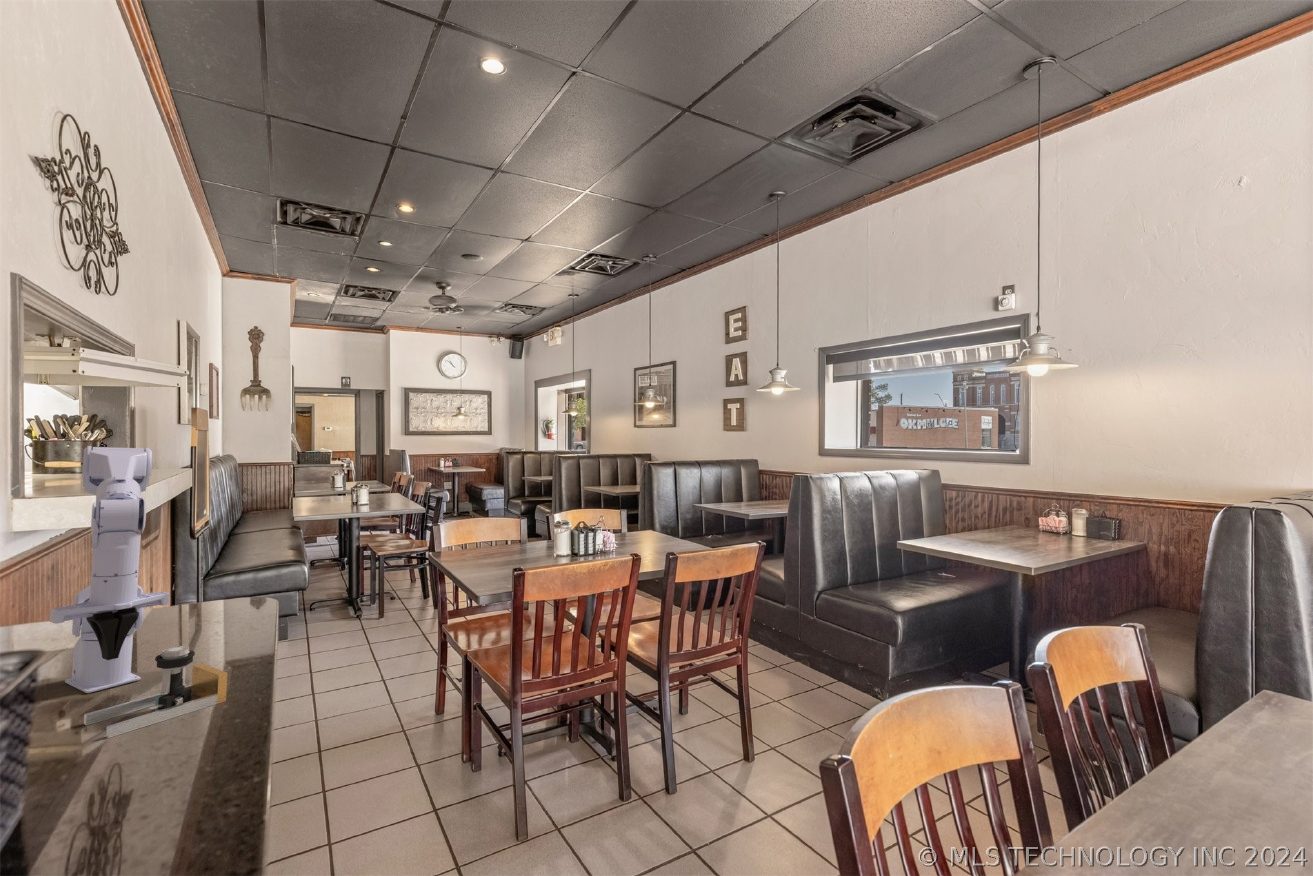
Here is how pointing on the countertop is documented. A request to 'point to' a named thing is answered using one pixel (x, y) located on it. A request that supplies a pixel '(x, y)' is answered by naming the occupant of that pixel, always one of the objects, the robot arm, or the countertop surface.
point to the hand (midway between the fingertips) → (110, 658)
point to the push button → (173, 676)
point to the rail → (204, 684)
